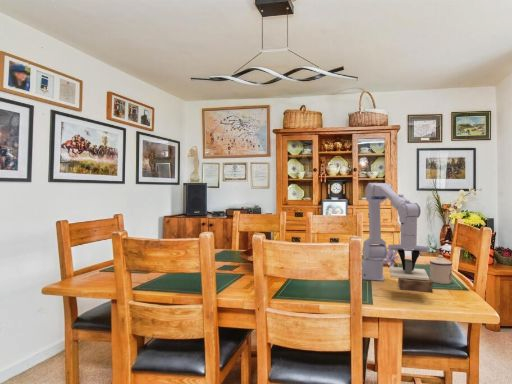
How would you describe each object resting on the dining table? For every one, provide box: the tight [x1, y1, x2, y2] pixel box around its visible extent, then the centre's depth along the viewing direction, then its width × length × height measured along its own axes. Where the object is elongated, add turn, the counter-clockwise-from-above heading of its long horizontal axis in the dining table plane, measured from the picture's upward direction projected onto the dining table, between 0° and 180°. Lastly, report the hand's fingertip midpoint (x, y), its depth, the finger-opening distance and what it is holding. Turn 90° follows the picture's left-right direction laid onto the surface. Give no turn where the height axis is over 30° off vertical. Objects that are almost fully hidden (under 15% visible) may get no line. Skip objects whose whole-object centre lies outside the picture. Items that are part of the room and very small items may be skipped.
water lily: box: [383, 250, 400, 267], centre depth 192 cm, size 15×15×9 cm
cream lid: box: [388, 258, 430, 280], centre depth 138 cm, size 13×13×6 cm
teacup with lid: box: [429, 254, 453, 285], centre depth 162 cm, size 12×9×12 cm
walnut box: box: [397, 275, 434, 293], centre depth 151 cm, size 12×12×4 cm
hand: (408, 269), depth 138 cm, fingers closed on cream lid, 2 cm apart
